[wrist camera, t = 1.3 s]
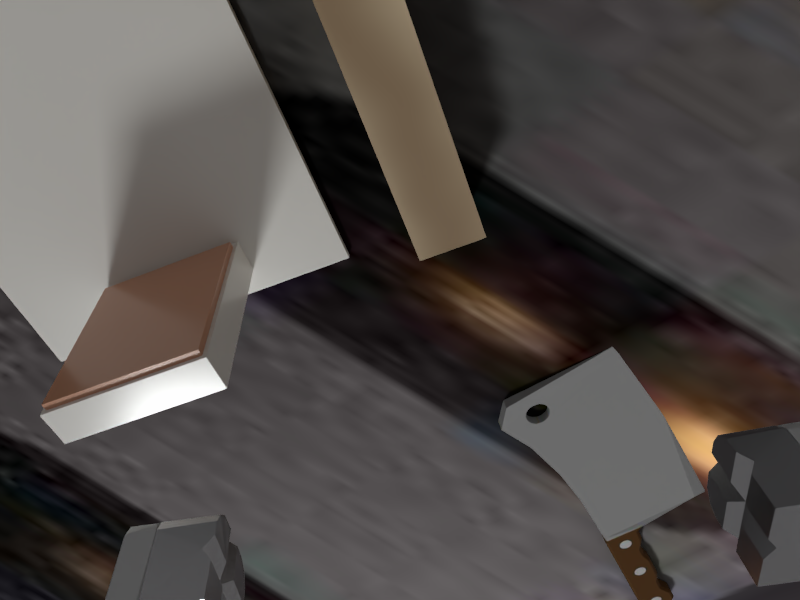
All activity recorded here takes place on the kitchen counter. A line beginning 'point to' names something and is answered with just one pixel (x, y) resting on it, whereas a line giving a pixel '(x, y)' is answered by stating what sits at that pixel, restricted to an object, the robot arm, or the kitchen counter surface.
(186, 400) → the tile
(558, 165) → the kitchen counter surface
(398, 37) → the wooden mallet
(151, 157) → the mat
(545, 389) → the kitchen cleaver
